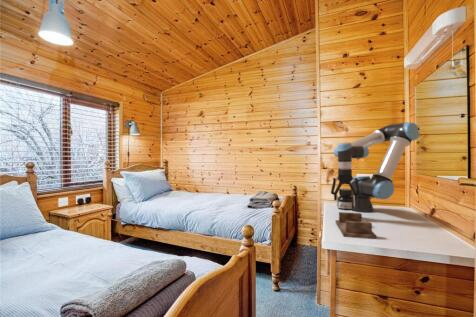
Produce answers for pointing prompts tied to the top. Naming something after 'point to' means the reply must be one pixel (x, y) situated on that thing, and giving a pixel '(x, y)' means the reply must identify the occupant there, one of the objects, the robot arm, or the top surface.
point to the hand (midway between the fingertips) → (345, 205)
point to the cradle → (354, 226)
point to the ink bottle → (345, 200)
